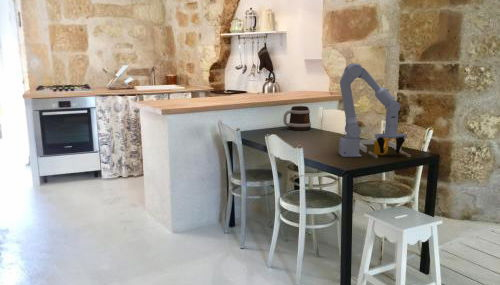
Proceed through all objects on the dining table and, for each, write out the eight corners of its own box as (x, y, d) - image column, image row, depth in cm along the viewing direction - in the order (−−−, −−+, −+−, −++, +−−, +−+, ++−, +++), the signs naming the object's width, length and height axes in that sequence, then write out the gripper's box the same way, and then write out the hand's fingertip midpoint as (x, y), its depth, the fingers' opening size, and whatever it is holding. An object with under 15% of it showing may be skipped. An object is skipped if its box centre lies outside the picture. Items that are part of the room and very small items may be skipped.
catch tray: (365, 152, 218) (365, 147, 217) (352, 144, 238) (353, 139, 238) (401, 151, 219) (401, 146, 218) (385, 143, 239) (386, 139, 239)
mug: (303, 126, 298) (303, 105, 296) (315, 130, 285) (316, 107, 282) (277, 128, 290) (278, 106, 287) (289, 132, 277) (289, 108, 274)
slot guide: (375, 158, 205) (375, 155, 205) (368, 153, 215) (368, 151, 215) (410, 157, 206) (410, 155, 206) (401, 153, 216) (402, 150, 216)
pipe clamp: (382, 155, 211) (382, 142, 210) (373, 154, 214) (374, 141, 212) (391, 151, 220) (392, 138, 219) (383, 150, 223) (383, 137, 222)
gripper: (379, 126, 203) (377, 154, 205) (409, 126, 204) (407, 154, 206) (374, 124, 210) (372, 151, 212) (403, 124, 211) (401, 151, 213)
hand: (389, 152), depth 210 cm, fingers open, 7 cm apart
